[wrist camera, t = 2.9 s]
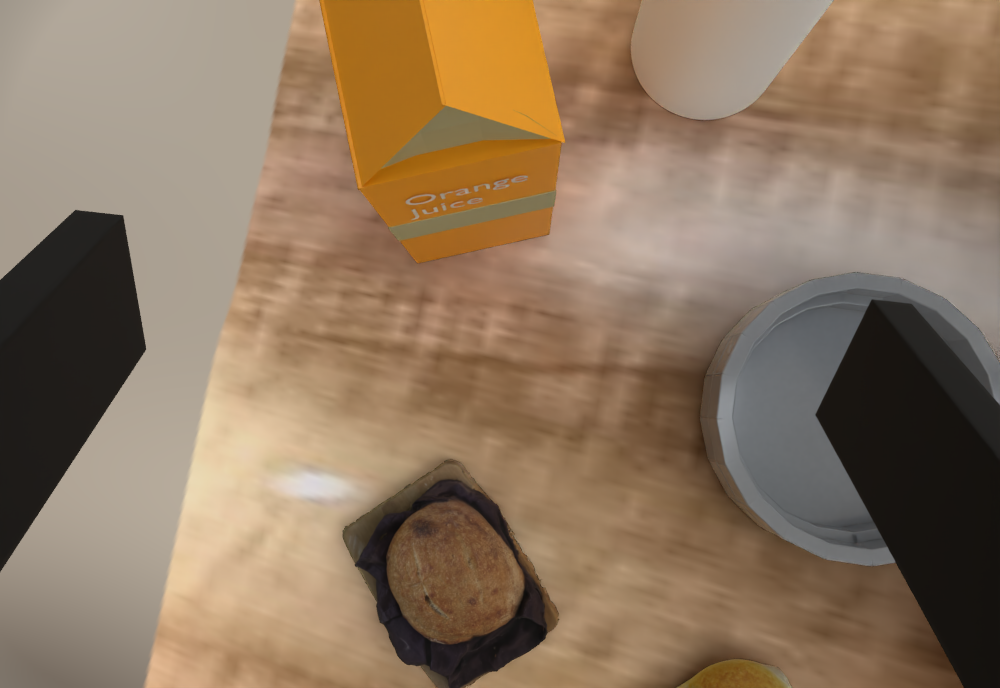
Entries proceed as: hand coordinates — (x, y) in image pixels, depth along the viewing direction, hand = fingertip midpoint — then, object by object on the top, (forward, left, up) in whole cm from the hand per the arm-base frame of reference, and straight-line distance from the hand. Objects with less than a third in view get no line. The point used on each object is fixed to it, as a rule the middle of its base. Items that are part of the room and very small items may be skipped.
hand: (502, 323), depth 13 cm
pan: (-14, +10, -27) cm, 32 cm away
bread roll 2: (+8, +8, -27) cm, 30 cm away
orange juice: (-3, -11, -27) cm, 30 cm away
